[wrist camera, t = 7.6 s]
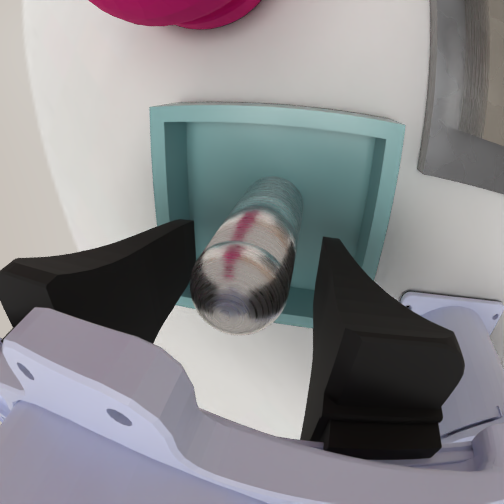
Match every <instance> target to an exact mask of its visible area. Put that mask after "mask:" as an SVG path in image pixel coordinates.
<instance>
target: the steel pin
mask: <svg viewBox="0 0 504 504" xmlns="http://www.w3.org/2000/svg"><path fill="white" fill-rule="evenodd" d="M303 209H304V204H303V199H302V196H301V194H300V192H299V190H298V189H297V188H296V187H295V186H294V185H293V184H292V183H291V182H289V181H288V180H286V179H283V178H280V177H274V176H271V177H264V178H261V179H259V180H257V181H255V182H254V183H253V184H252V185H251V186H250V187H249V188H248V190H247V191H246V192H245V194H244V195H243V196H242V198H241V199H240V200H239V202H238V203H237V204H236V206H235V207H234V209H233V210H232V211H231V213H230V214H229V215H228V217H227V218H226V220H225V221H224V222H223V224H222V225H221V226H220V228H219V229H218V231H217V232H216V233H215V235H214V236H213V238H212V239H211V240H210V242H209V243H208V245H207V246H206V247H205V249H204V250H203V252H202V253H201V255H200V256H199V257H198V259H197V261H196V262H195V265H194V267H193V269H192V273H191V277H190V293H191V298H192V301H193V304H194V306H195V308H196V310H197V312H198V313H199V315H200V316H201V317H202V318H203V320H204V321H205V322H206V323H208V324H209V325H210V326H211V327H213V328H215V329H216V330H218V331H221V332H223V333H227V334H231V335H249V334H253V333H256V332H259V331H261V330H263V329H265V328H266V327H268V326H269V325H271V324H272V323H273V322H274V321H275V320H276V319H277V318H278V317H279V316H280V314H281V313H282V311H283V309H284V307H285V306H286V303H287V300H288V296H289V291H290V286H291V280H292V275H293V269H294V263H295V258H296V252H297V246H298V240H299V234H300V228H301V222H302V216H303Z"/></svg>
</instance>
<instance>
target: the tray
mask: <svg viewBox="0 0 504 504" xmlns="http://www.w3.org/2000/svg"><path fill="white" fill-rule="evenodd" d="M404 133H405V125H404V124H401V123H399V122H397V121H394V120H392V119H389V118H384V117H378V116H373V115H367V114H361V113H354V112H348V111H341V110H333V109H325V108H316V107H307V106H296V105H284V104H269V103H248V102H181V103H172V104H165V105H159V106H153V107H150V136H151V156H152V172H153V186H154V198H155V209H156V219H157V226H160V225H162V224H165V223H168V222H170V221H174V220H178V219H184V220H193V221H194V231H195V248H196V261H197V259H198V257H199V256H200V255H201V253H202V252H203V250H204V249H205V247H206V246H207V245H208V243H209V242H210V240H211V239H212V238H213V236H214V235H215V233H216V232H217V231H218V229H219V228H220V226H221V225H222V224H223V222H224V221H225V220H226V218H227V217H228V215H229V214H230V213H231V211H232V210H233V209H234V207H235V206H236V204H237V203H238V202H239V200H240V199H241V198H242V196H243V195H244V194H245V192H246V191H247V190H248V188H249V187H250V186H251V185H252V184H253V183H254V182H255V181H257V180H259V179H261V178H264V177H271V176H274V177H280V178H283V179H286V180H288V181H289V182H291V183H292V184H293V185H294V186H295V187H296V188H297V189H298V190H299V192H300V194H301V196H302V199H303V204H304V209H303V216H302V222H301V228H300V234H299V240H298V246H297V252H296V258H295V263H294V269H293V275H292V280H291V286H290V291H289V296H288V300H287V303H286V306H285V307H284V309H283V311H282V313H281V314H280V316H279V317H278V318H277V319H276V320H275V321H274V322H273V323H279V324H286V325H293V326H300V327H307V328H313V300H314V290H315V282H316V276H317V270H318V264H319V258H320V252H321V245H322V239H323V236H324V237H331V238H338V239H340V240H341V242H342V243H343V244H344V246H345V247H346V249H347V250H348V251H349V253H350V254H351V256H352V257H353V258H354V260H355V261H356V262H357V263H358V264H359V266H360V267H361V268H362V269H363V270H364V271H365V272H366V274H367V275H368V276H369V277H370V278H371V279H372V280H373V281H374V278H375V275H376V271H377V267H378V263H379V260H380V256H381V252H382V248H383V244H384V240H385V236H386V231H387V227H388V222H389V218H390V213H391V209H392V204H393V199H394V194H395V189H396V183H397V178H398V172H399V166H400V160H401V154H402V147H403V140H404ZM176 305H178V306H183V307H188V308H193V309H196V308H195V306H194V304H193V301H192V298H191V293H190V282H189V284H188V286H187V287H186V289H185V291H184V292H183V294H182V295H181V297H180V298H179V300H178V302H177V303H176Z"/></svg>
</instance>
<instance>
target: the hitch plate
mask: <svg viewBox="0 0 504 504" xmlns="http://www.w3.org/2000/svg"><path fill="white" fill-rule="evenodd" d="M430 14H431V41H430V67H429V82H428V94H427V105H426V114H425V122H424V130H423V137H422V144H421V150H420V156H419V162H418V168H417V169H418V170H419V171H420V172H421V173H423V174H425V175H430V176H435V177H439V178H444V179H448V180H452V181H456V182H460V183H464V184H468V185H472V186H476V187H480V188H483V189H487V190H491V191H494V192H498V193H501V194H504V0H430Z"/></svg>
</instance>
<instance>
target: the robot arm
mask: <svg viewBox="0 0 504 504" xmlns="http://www.w3.org/2000/svg"><path fill="white" fill-rule="evenodd" d="M195 262H196V248H195V231H194V221H193V220H184V219H178V220H174V221H170V222H168V223H165V224H162V225H160V226H157V227H155V228H152V229H150V230H147V231H145V232H142V233H140V234H137V235H134V236H132V237H129V238H126V239H124V240H121V241H118V242H115V243H112V244H109V245H106V246H102V247H99V248H95V249H91V250H86V251H81V252H77V253H72V254H66V255H59V256H51V257H38V258H17V259H15V260H13V261H12V262H11V263H9V264H8V265H7V266H6V267H4V268H3V269H2V270H0V301H1V303H2V305H3V308H4V310H5V312H6V314H7V316H8V318H9V320H10V322H11V324H12V326H13V329H12V330H11V331H10V332H9V333H8V334H7V335H6V336H5V337H4V338H3V339H2V338H0V421H1V422H2V424H1V426H0V504H504V369H503V366H502V364H501V361H500V359H499V356H498V354H497V352H496V349H495V347H494V345H493V343H492V340H491V338H490V334H491V333H492V331H493V329H494V327H495V326H496V324H497V322H498V320H499V318H500V316H501V315H502V313H503V311H504V306H503V304H502V302H498V301H489V300H479V299H470V298H461V297H452V296H444V295H435V294H427V293H418V292H407V293H405V294H404V295H403V297H402V299H401V302H398V301H397V300H396V299H394V298H393V297H391V296H390V295H389V294H388V293H386V292H385V291H384V290H383V289H382V288H381V287H380V286H379V285H377V284H376V283H375V282H374V281H373V280H372V279H371V278H370V277H369V276H368V275H367V274H366V272H365V271H364V270H363V269H362V268H361V267H360V266H359V264H358V263H357V262H356V261H355V260H354V258H353V257H352V256H351V254H350V253H349V251H348V250H347V249H346V247H345V246H344V244H343V243H342V242H341V240H340V239H338V238H331V237H324V236H323V239H322V245H321V252H320V258H319V264H318V270H317V276H316V282H315V290H314V300H313V362H312V370H311V377H310V384H309V391H308V398H307V404H306V410H305V416H304V422H303V428H302V433H301V438H300V440H296V439H289V438H282V437H276V436H273V435H270V434H267V433H264V432H261V431H258V430H255V429H252V428H249V427H247V426H244V425H241V424H238V423H236V422H233V421H231V420H228V419H225V418H223V417H220V416H218V415H215V414H213V413H211V412H208V411H206V410H203V409H201V408H199V407H198V405H197V402H196V397H195V391H194V386H193V384H192V383H191V381H190V379H189V377H188V375H187V374H186V372H185V370H184V368H183V366H182V365H181V364H180V363H179V362H178V361H176V360H175V359H174V358H173V357H172V356H170V355H169V354H168V353H167V352H166V351H165V350H163V349H162V348H161V347H159V346H157V345H154V344H153V343H154V341H155V338H156V336H157V334H158V332H159V330H160V329H161V327H162V325H163V323H164V322H165V320H166V319H167V317H168V315H169V314H170V312H171V311H172V309H173V308H174V306H175V305H176V303H177V302H178V300H179V298H180V297H181V295H182V294H183V292H184V291H185V289H186V287H187V286H188V284H189V282H190V277H191V273H192V269H193V267H194V265H195ZM407 305H410V307H408V308H407V307H405V306H407Z"/></svg>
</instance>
